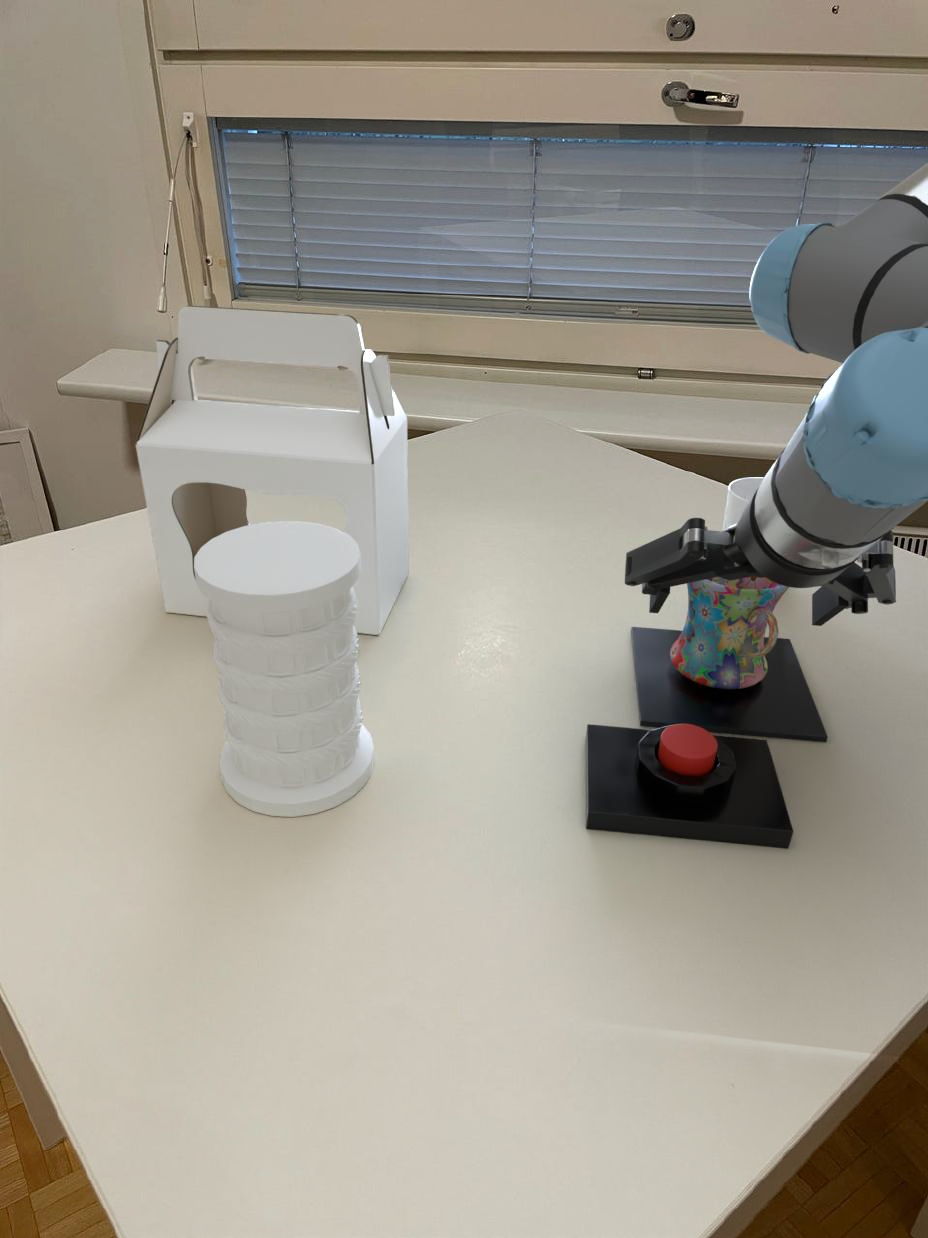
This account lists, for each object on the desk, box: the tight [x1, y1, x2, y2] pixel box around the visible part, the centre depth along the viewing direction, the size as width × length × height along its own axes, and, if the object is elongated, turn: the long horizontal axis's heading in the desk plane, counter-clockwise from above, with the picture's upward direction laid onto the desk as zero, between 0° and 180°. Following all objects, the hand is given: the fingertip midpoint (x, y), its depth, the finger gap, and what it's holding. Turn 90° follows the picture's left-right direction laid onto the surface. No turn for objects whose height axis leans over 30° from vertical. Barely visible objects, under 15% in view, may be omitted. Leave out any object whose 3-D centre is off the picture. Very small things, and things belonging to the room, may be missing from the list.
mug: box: [670, 563, 790, 689], centre depth 75 cm, size 12×9×11 cm
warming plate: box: [630, 626, 829, 743], centre depth 78 cm, size 15×15×1 cm
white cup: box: [722, 476, 764, 531], centre depth 93 cm, size 8×8×10 cm
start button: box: [658, 724, 718, 776], centre depth 63 cm, size 4×4×2 cm
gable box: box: [134, 305, 410, 636], centre depth 83 cm, size 22×13×28 cm, turn 81°
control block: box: [584, 723, 794, 850], centre depth 64 cm, size 14×10×4 cm
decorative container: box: [194, 520, 375, 818], centre depth 62 cm, size 12×12×18 cm
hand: (734, 604), depth 75 cm, fingers open, 13 cm apart
